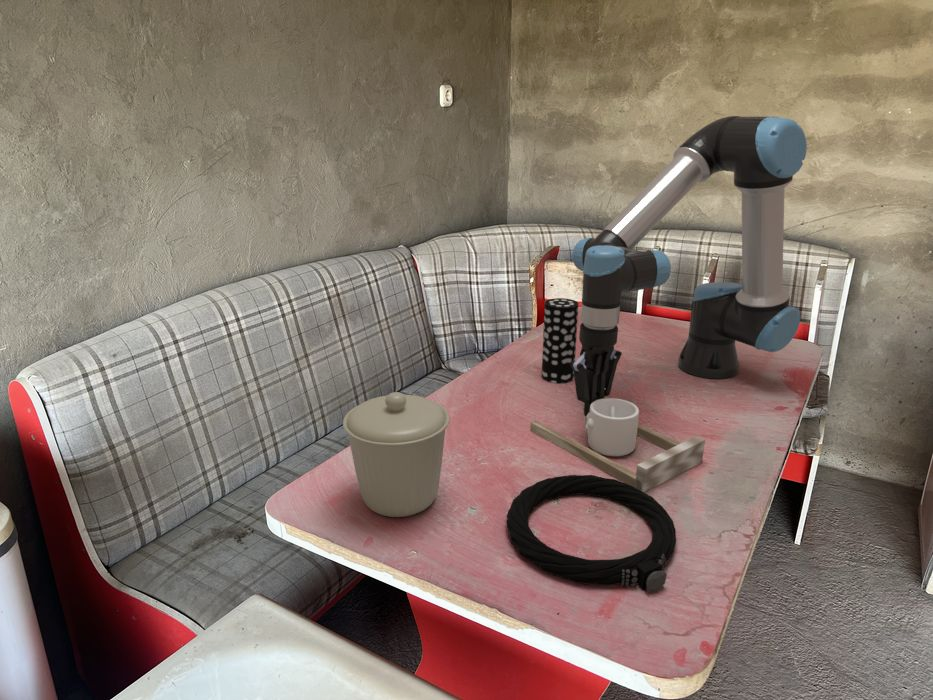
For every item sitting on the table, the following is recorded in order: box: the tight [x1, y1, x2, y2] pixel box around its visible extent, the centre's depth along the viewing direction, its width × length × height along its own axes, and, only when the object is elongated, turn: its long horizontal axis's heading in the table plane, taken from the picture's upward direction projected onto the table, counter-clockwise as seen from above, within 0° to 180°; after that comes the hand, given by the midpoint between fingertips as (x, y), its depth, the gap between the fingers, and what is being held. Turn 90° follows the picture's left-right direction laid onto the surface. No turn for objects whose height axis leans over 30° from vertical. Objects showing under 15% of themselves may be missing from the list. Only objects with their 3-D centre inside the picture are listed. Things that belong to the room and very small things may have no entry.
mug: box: [585, 397, 640, 457], centre depth 135 cm, size 12×10×9 cm
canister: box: [342, 391, 451, 518], centre depth 114 cm, size 18×18×21 cm
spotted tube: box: [541, 297, 579, 384], centre depth 166 cm, size 8×8×20 cm
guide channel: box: [530, 406, 706, 493], centre depth 135 cm, size 18×30×5 cm, turn 37°
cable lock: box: [506, 474, 677, 594], centre depth 108 cm, size 28×4×30 cm
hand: (591, 428), depth 140 cm, fingers closed
